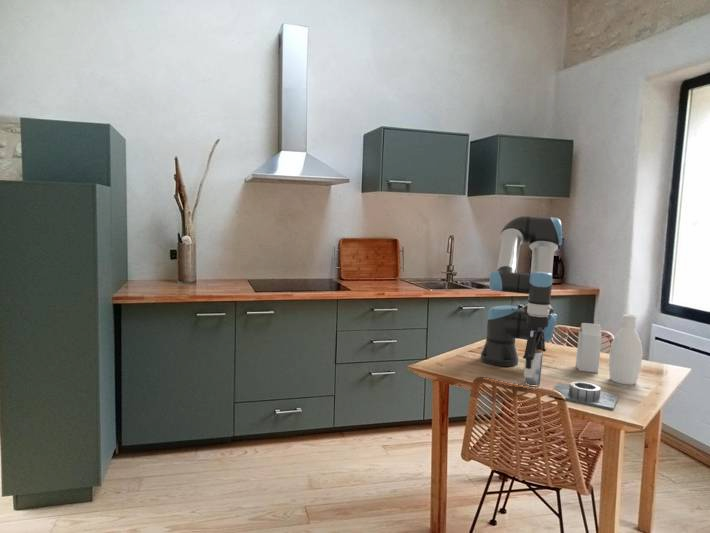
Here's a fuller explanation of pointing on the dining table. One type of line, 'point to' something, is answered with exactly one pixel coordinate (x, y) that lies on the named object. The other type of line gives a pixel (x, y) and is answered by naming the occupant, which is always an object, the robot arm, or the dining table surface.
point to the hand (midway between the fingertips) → (532, 372)
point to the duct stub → (536, 369)
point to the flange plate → (599, 402)
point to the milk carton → (589, 347)
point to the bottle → (626, 353)
